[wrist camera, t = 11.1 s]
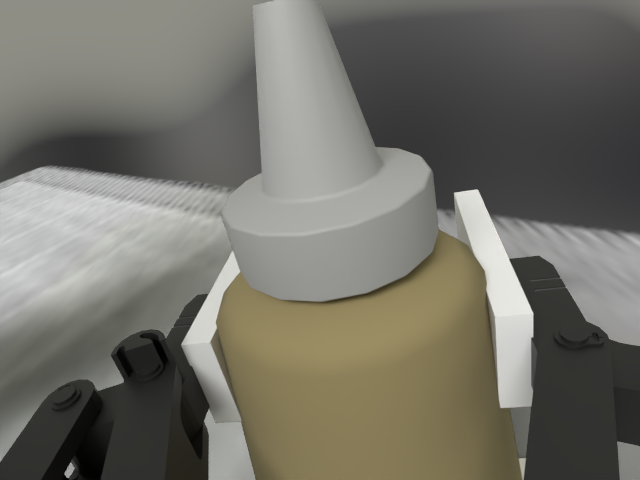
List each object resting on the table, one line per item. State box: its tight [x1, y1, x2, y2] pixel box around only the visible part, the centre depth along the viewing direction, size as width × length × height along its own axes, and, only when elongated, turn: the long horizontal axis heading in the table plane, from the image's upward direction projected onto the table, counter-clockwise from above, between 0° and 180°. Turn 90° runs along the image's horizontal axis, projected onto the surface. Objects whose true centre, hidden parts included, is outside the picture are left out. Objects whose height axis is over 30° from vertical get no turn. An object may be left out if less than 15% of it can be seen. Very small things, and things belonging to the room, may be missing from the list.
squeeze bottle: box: [216, 0, 522, 480], centre depth 13 cm, size 8×8×18 cm
